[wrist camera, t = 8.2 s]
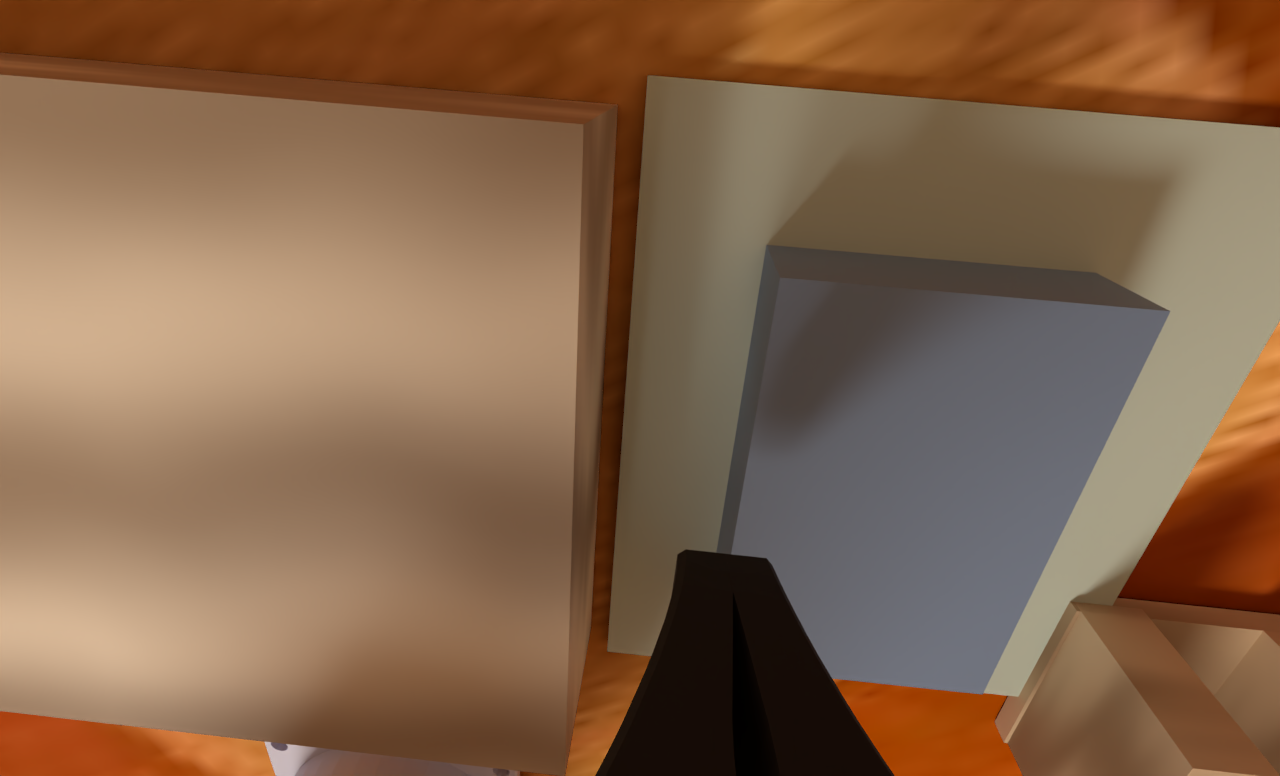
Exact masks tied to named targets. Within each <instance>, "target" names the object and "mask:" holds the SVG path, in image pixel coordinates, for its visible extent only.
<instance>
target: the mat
mask: <svg viewBox="0 0 1280 776" xmlns="http://www.w3.org/2000/svg"><path fill="white" fill-rule="evenodd" d="M766 245H775V246H787V247H798V248H810V249H822V250H834V251H845V252H857V253H869V254H881V255H893V256H904V257H916V258H928V259H940V260H952V261H963V262H975V263H987V264H999V265H1011V266H1022V267H1034V268H1046V269H1058V270H1069V271H1081V272H1093V273H1097V274H1099V275H1101V276H1103V277H1105V278H1107V279H1109V280H1111V281H1113V282H1115V283H1117V284H1119V285H1121V286H1123V287H1125V288H1126V289H1128V290H1130V291H1132V292H1134V293H1136V294H1138V295H1140V296H1142V297H1144V298H1146V299H1148V300H1150V301H1152V302H1154V303H1156V304H1157V305H1159V306H1161V307H1163V308H1165V309H1167V310H1169V311H1170V314H1169V316H1168V318H1167V320H1166V322H1165V324H1164V326H1163V328H1162V330H1161V332H1160V334H1159V336H1158V338H1157V340H1156V342H1155V344H1154V346H1153V348H1152V350H1151V352H1150V354H1149V356H1148V358H1147V360H1146V362H1145V364H1144V367H1143V369H1142V371H1141V373H1140V375H1139V377H1138V379H1137V381H1136V383H1135V385H1134V387H1133V389H1132V391H1131V393H1130V395H1129V397H1128V399H1127V401H1126V403H1125V405H1124V407H1123V409H1122V411H1121V413H1120V415H1119V417H1118V420H1117V422H1116V424H1115V426H1114V428H1113V430H1112V432H1111V434H1110V436H1109V438H1108V440H1107V442H1106V444H1105V446H1104V448H1103V450H1102V452H1101V454H1100V456H1099V458H1098V460H1097V462H1096V464H1095V466H1094V468H1093V470H1092V473H1091V475H1090V477H1089V479H1088V481H1087V483H1086V485H1085V487H1084V489H1083V491H1082V493H1081V495H1080V497H1079V499H1078V501H1077V503H1076V505H1075V507H1074V509H1073V511H1072V513H1071V515H1070V517H1069V519H1068V521H1067V524H1066V526H1065V528H1064V530H1063V532H1062V534H1061V536H1060V538H1059V540H1058V542H1057V544H1056V546H1055V548H1054V550H1053V552H1052V554H1051V556H1050V558H1049V560H1048V562H1047V564H1046V566H1045V568H1044V570H1043V572H1042V574H1041V577H1040V579H1039V581H1038V583H1037V585H1036V587H1035V589H1034V591H1033V593H1032V595H1031V597H1030V599H1029V601H1028V603H1027V605H1026V607H1025V609H1024V611H1023V613H1022V615H1021V617H1020V619H1019V621H1018V623H1017V625H1016V627H1015V630H1014V632H1013V634H1012V636H1011V638H1010V640H1009V642H1008V644H1007V646H1006V648H1005V650H1004V652H1003V654H1002V656H1001V658H1000V660H999V662H998V664H997V666H996V668H995V670H994V672H993V674H992V676H991V678H990V680H989V683H988V685H987V687H986V689H985V691H984V693H989V694H998V695H1007V696H1016V697H1018V696H1019V694H1020V693H1021V691H1022V689H1023V687H1024V685H1025V683H1026V682H1027V680H1028V678H1029V676H1030V674H1031V672H1032V670H1033V669H1034V667H1035V665H1036V663H1037V661H1038V659H1039V658H1040V656H1041V654H1042V652H1043V650H1044V648H1045V646H1046V645H1047V643H1048V641H1049V639H1050V637H1051V635H1052V633H1053V632H1054V630H1055V628H1056V626H1057V624H1058V622H1059V621H1060V619H1061V617H1062V615H1063V613H1064V611H1065V609H1066V608H1067V606H1068V604H1069V602H1070V601H1071V602H1081V603H1090V604H1100V605H1109V606H1112V605H1113V604H1114V602H1115V600H1116V599H1117V597H1118V595H1119V594H1120V592H1121V590H1122V588H1123V587H1124V585H1125V583H1126V582H1127V580H1128V578H1129V577H1130V575H1131V573H1132V571H1133V570H1134V568H1135V566H1136V565H1137V563H1138V561H1139V559H1140V558H1141V556H1142V554H1143V553H1144V551H1145V549H1146V548H1147V546H1148V544H1149V542H1150V541H1151V539H1152V537H1153V536H1154V534H1155V532H1156V531H1157V529H1158V527H1159V525H1160V524H1161V522H1162V520H1163V519H1164V517H1165V515H1166V514H1167V512H1168V510H1169V508H1170V507H1171V505H1172V503H1173V502H1174V500H1175V498H1176V496H1177V495H1178V493H1179V491H1180V490H1181V488H1182V486H1183V485H1184V483H1185V481H1186V479H1187V478H1188V476H1189V474H1190V473H1191V471H1192V469H1193V468H1194V466H1195V464H1196V462H1197V461H1198V459H1199V457H1200V456H1201V454H1202V452H1203V451H1204V449H1205V447H1206V445H1207V444H1208V442H1209V440H1210V439H1211V437H1212V435H1213V433H1214V432H1215V430H1216V428H1217V427H1218V425H1219V423H1220V422H1221V420H1222V418H1223V416H1224V415H1225V413H1226V411H1227V410H1228V408H1229V406H1230V405H1231V403H1232V401H1233V399H1234V398H1235V396H1236V394H1237V393H1238V391H1239V389H1240V388H1241V386H1242V384H1243V382H1244V381H1245V379H1246V377H1247V376H1248V374H1249V372H1250V370H1251V369H1252V367H1253V365H1254V364H1255V362H1256V360H1257V359H1258V357H1259V355H1260V353H1261V352H1262V350H1263V348H1264V347H1265V345H1266V343H1267V342H1268V340H1269V338H1270V336H1271V335H1272V333H1273V331H1274V330H1275V328H1276V326H1277V325H1278V323H1279V321H1280V127H1269V126H1257V125H1245V124H1233V123H1221V122H1209V121H1197V120H1185V119H1173V118H1161V117H1149V116H1137V115H1124V114H1112V113H1100V112H1088V111H1076V110H1064V109H1052V108H1040V107H1028V106H1016V105H1004V104H992V103H980V102H968V101H956V100H944V99H931V98H919V97H907V96H895V95H883V94H871V93H859V92H847V91H835V90H823V89H811V88H799V87H787V86H775V85H763V84H750V83H738V82H726V81H714V80H702V79H690V78H678V77H666V76H654V75H648V76H647V91H646V105H645V119H644V133H643V148H642V162H641V176H640V190H639V205H638V219H637V233H636V247H635V262H634V276H633V290H632V305H631V319H630V333H629V347H628V362H627V376H626V390H625V404H624V419H623V433H622V447H621V461H620V476H619V490H618V504H617V519H616V533H615V547H614V561H613V576H612V590H611V604H610V618H609V633H608V647H607V652H616V653H625V654H634V655H643V656H652V653H653V650H654V648H655V645H656V642H657V640H658V637H659V634H660V631H661V629H662V626H663V623H664V620H665V617H666V613H667V610H668V607H669V603H670V600H671V596H672V589H673V582H674V575H675V568H676V561H677V554H679V553H680V552H682V551H684V550H685V549H688V550H697V551H706V552H715V553H716V551H717V545H718V539H719V533H720V527H721V521H722V515H723V508H724V502H725V496H726V490H727V484H728V478H729V472H730V465H731V459H732V453H733V447H734V441H735V435H736V429H737V422H738V416H739V410H740V404H741V398H742V392H743V386H744V379H745V373H746V367H747V361H748V355H749V349H750V342H751V336H752V330H753V324H754V318H755V312H756V306H757V299H758V293H759V287H760V281H761V275H762V269H763V263H764V256H765V250H766Z"/></svg>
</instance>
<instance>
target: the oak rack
mask: <svg viewBox="0 0 1280 776" xmlns="http://www.w3.org/2000/svg"><path fill="white" fill-rule="evenodd" d="M995 724H996V726H997V729H998V731H999V733H1000V735H1001V737H1002V739H1003V742H1004V743H1008V745H1009V747H1010V749H1011V751H1012V753H1013V755H1014V758H1015V760H1016V762H1017V764H1018V766H1019V768H1020V770H1021V773H1022V775H1023V776H1280V615H1278V614H1268V613H1259V612H1249V611H1240V610H1230V609H1221V608H1211V607H1201V606H1192V605H1182V604H1173V603H1163V602H1154V601H1144V600H1135V599H1125V598H1117V599H1116V600H1115V602H1114V604H1113V605H1112V606H1109V605H1100V604H1090V603H1081V602H1071V601H1070V602H1069V604H1068V606H1067V608H1066V609H1065V611H1064V613H1063V615H1062V617H1061V619H1060V621H1059V622H1058V624H1057V626H1056V628H1055V630H1054V632H1053V633H1052V635H1051V637H1050V639H1049V641H1048V643H1047V645H1046V646H1045V648H1044V650H1043V652H1042V654H1041V656H1040V658H1039V659H1038V661H1037V663H1036V665H1035V667H1034V669H1033V670H1032V672H1031V674H1030V676H1029V678H1028V680H1027V682H1026V683H1025V685H1024V687H1023V689H1022V691H1021V693H1020V694H1019V696H1018V697H1016V696H1008V697H1007V699H1006V701H1005V703H1004V705H1003V707H1002V709H1001V711H1000V712H999V714H998V716H997V718H996V720H995Z"/></svg>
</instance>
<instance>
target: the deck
mask: <svg viewBox="0 0 1280 776" xmlns="http://www.w3.org/2000/svg"><path fill="white" fill-rule="evenodd" d="M617 113H618V105H617V104H606V103H594V102H582V101H570V100H558V99H546V98H534V97H523V96H511V95H499V94H487V93H475V92H463V91H451V90H440V89H428V88H416V87H404V86H392V85H380V84H369V83H357V82H345V81H333V80H321V79H309V78H297V77H286V76H274V75H262V74H250V73H238V72H226V71H214V70H203V69H191V68H179V67H167V66H155V65H143V64H131V63H120V62H108V61H96V60H84V59H72V58H60V57H49V56H37V55H25V54H13V53H1V52H0V711H6V712H14V713H23V714H32V715H40V716H49V717H57V718H66V719H75V720H83V721H92V722H101V723H109V724H118V725H126V726H135V727H144V728H152V729H161V730H170V731H178V732H187V733H195V734H204V735H213V736H221V737H230V738H239V739H247V740H256V741H264V742H273V743H282V744H290V745H299V746H308V747H316V748H325V749H333V750H342V751H351V752H359V753H368V754H377V755H385V756H394V757H402V758H411V759H420V760H428V761H437V762H446V763H454V764H463V765H471V766H480V767H489V768H497V769H506V770H514V771H523V772H532V773H540V774H549V775H558V776H565V774H566V768H567V762H568V757H569V751H570V745H571V740H572V734H573V728H574V722H575V717H576V711H577V705H578V700H579V694H580V688H581V682H582V677H583V671H584V665H585V660H586V654H587V648H588V642H589V637H590V631H591V619H592V600H593V580H594V561H595V541H596V522H597V503H598V483H599V464H600V444H601V425H602V405H603V386H604V366H605V347H606V327H607V308H608V288H609V269H610V249H611V230H612V210H613V191H614V171H615V152H616V133H617Z"/></svg>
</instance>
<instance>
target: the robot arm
mask: <svg viewBox="0 0 1280 776" xmlns="http://www.w3.org/2000/svg"><path fill="white" fill-rule="evenodd" d="M265 745H266V748H267V751H268V754H269V757H270V760H271V763H272V766H273V769H274V772H275V775H276V776H520V771H514V770H506V769H497V768H489V767H480V766H471V765H463V764H454V763H446V762H437V761H428V760H420V759H411V758H402V757H394V756H385V755H377V754H368V753H359V752H351V751H342V750H333V749H325V748H316V747H308V746H299V745H290V744H282V743H273V742H265ZM595 776H894V774H893V773H892V771H891V770H890V768H889V767H888V766H887V764H886V763H885V761H884V760H883V758H882V757H881V755H880V754H879V752H878V751H877V749H876V748H875V746H874V745H873V743H872V742H871V740H870V739H869V737H868V735H867V734H866V732H865V731H864V729H863V728H862V726H861V725H860V723H859V722H858V720H857V719H856V717H855V715H854V714H853V712H852V711H851V709H850V707H849V706H848V704H847V703H846V701H845V699H844V698H843V696H842V694H841V693H840V691H839V689H838V688H837V686H836V684H835V683H834V681H833V679H832V677H831V676H830V674H829V672H828V671H827V669H826V667H825V666H824V664H823V662H822V660H821V659H820V657H819V655H818V654H817V652H816V650H815V648H814V646H813V645H812V643H811V641H810V639H809V637H808V636H807V634H806V632H805V630H804V628H803V626H802V624H801V622H800V621H799V619H798V617H797V615H796V613H795V611H794V609H793V607H792V605H791V603H790V601H789V599H788V597H787V595H786V593H785V591H784V589H783V587H782V585H781V583H780V581H779V579H778V576H777V574H776V572H775V570H774V568H773V565H772V564H771V563H770V562H769V560H768V559H767V558H760V557H751V556H742V555H733V554H724V553H715V552H706V551H697V550H688V549H685V550H684V551H682V552H680V553H679V554H677V561H676V568H675V575H674V582H673V589H672V596H671V600H670V603H669V607H668V610H667V613H666V617H665V620H664V623H663V626H662V629H661V631H660V634H659V637H658V640H657V642H656V645H655V648H654V650H653V653H652V656H651V659H650V661H649V664H648V666H647V669H646V671H645V674H644V676H643V678H642V680H641V683H640V685H639V687H638V689H637V691H636V694H635V696H634V698H633V700H632V703H631V705H630V707H629V709H628V712H627V714H626V716H625V718H624V720H623V723H622V725H621V727H620V729H619V731H618V733H617V735H616V737H615V739H614V741H613V743H612V745H611V747H610V749H609V751H608V753H607V755H606V757H605V759H604V760H603V762H602V764H601V766H600V768H599V770H598V772H597V774H596V775H595Z"/></svg>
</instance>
